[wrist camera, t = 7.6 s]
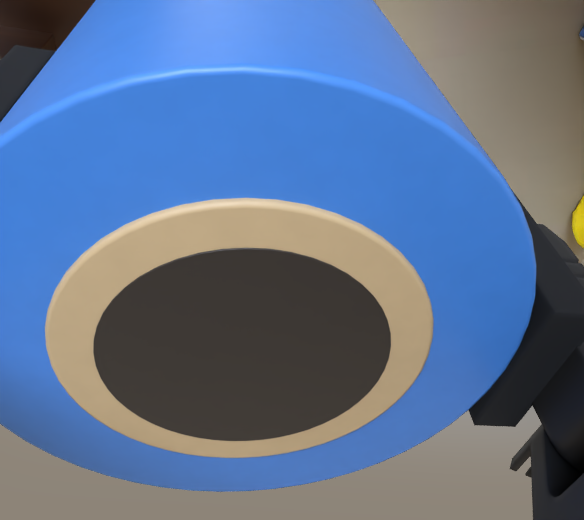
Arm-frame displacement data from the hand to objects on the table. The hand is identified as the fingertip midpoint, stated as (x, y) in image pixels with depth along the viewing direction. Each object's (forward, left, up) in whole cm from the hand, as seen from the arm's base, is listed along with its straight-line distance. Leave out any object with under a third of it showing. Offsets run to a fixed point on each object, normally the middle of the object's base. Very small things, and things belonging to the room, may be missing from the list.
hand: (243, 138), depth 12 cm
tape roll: (0, 0, -1) cm, 1 cm away
